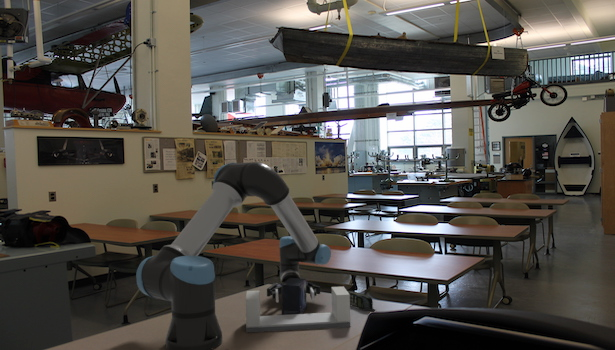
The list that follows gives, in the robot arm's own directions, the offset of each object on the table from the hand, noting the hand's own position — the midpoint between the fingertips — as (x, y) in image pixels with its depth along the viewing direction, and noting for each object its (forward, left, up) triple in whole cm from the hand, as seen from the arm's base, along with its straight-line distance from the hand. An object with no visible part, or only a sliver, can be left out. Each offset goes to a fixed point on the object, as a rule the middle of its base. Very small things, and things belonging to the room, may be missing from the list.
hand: (295, 297), depth 146 cm
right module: (+13, -9, -4) cm, 17 cm away
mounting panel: (0, -9, -6) cm, 10 cm away
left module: (-13, -9, -4) cm, 17 cm away
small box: (0, +4, -6) cm, 7 cm away
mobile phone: (+22, +6, -6) cm, 24 cm away
